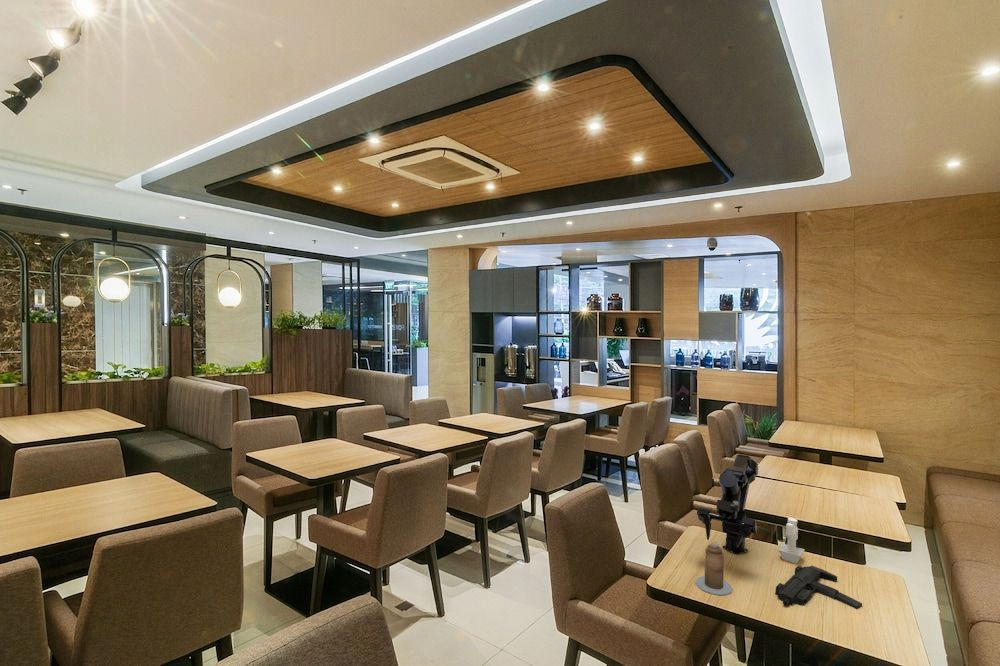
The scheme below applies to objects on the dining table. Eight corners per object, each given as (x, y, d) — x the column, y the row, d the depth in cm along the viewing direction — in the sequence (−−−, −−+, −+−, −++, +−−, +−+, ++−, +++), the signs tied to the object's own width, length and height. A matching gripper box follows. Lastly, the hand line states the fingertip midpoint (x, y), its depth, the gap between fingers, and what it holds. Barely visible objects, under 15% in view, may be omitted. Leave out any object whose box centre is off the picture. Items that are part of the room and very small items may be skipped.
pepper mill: (707, 578, 168) (708, 538, 167) (725, 583, 165) (726, 543, 164) (702, 585, 163) (703, 544, 163) (721, 591, 160) (722, 549, 160)
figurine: (805, 558, 184) (806, 517, 184) (799, 567, 177) (801, 525, 177) (782, 552, 189) (784, 512, 189) (776, 560, 182) (778, 519, 182)
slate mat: (712, 574, 171) (712, 573, 171) (740, 590, 161) (740, 589, 161) (688, 581, 166) (688, 580, 166) (715, 598, 156) (715, 597, 156)
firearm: (844, 635, 141) (768, 601, 156) (870, 597, 162) (801, 569, 176) (845, 624, 141) (769, 591, 156) (871, 587, 161) (802, 560, 176)
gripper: (698, 484, 180) (689, 524, 172) (756, 495, 169) (749, 539, 161) (704, 500, 187) (695, 539, 178) (759, 512, 176) (753, 554, 167)
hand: (721, 543), depth 171 cm, fingers open, 9 cm apart
